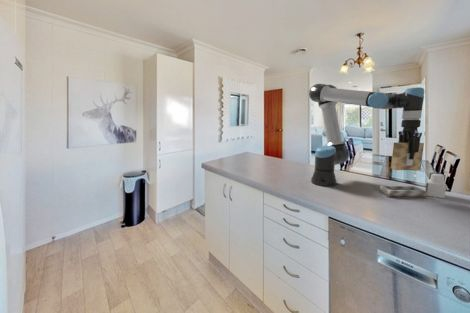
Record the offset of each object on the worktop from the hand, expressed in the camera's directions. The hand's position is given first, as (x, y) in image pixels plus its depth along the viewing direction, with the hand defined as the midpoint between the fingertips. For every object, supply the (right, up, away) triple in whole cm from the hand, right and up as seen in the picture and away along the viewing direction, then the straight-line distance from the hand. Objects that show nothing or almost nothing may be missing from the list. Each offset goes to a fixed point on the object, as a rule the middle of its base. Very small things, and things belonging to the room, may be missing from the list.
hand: (405, 164), depth 113 cm
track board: (0, -17, +3) cm, 17 cm away
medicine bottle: (+17, -17, +2) cm, 24 cm away
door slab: (0, -3, 0) cm, 3 cm away
